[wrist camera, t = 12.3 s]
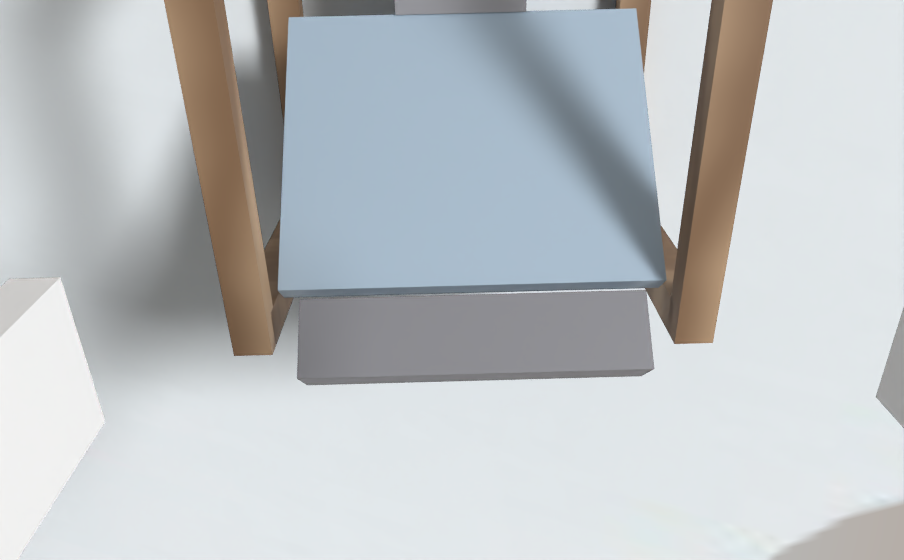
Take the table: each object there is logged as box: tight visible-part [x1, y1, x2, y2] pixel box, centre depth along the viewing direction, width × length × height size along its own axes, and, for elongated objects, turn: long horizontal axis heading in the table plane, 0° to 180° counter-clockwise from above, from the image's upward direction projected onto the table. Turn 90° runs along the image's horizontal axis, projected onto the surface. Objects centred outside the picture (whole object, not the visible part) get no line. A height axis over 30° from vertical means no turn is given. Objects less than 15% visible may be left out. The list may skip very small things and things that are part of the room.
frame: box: [164, 0, 773, 356], centre depth 32 cm, size 20×20×16 cm
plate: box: [278, 8, 667, 385], centre depth 31 cm, size 16×17×2 cm
